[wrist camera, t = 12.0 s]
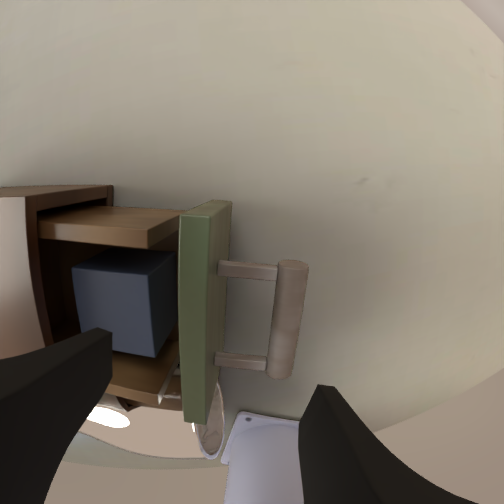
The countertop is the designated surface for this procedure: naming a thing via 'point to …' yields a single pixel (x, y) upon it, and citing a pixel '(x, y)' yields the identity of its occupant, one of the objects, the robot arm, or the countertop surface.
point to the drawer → (188, 295)
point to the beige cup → (157, 425)
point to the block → (128, 297)
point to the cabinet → (31, 260)
